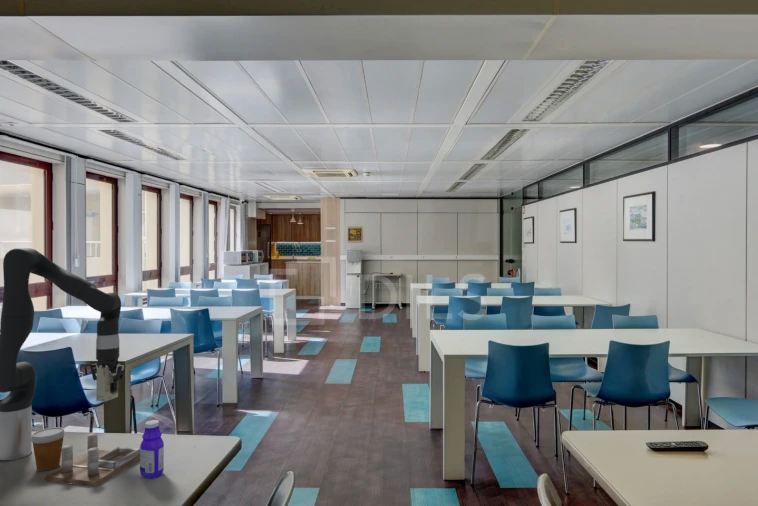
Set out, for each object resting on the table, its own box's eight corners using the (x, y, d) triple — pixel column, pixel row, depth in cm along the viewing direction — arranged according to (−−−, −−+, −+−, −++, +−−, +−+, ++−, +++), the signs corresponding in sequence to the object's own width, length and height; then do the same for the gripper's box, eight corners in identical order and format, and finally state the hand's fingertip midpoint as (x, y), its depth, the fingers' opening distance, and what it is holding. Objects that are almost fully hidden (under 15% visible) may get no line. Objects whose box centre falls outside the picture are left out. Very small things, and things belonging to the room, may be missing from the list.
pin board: (43, 480, 144) (43, 450, 144) (94, 453, 163) (94, 427, 163) (95, 486, 139) (95, 456, 140) (142, 458, 159) (142, 431, 159)
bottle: (167, 472, 148) (167, 420, 148) (153, 480, 143) (153, 426, 143) (150, 469, 151) (150, 417, 151) (136, 477, 145) (136, 423, 145)
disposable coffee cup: (71, 463, 155) (71, 429, 155) (41, 476, 147) (41, 439, 147) (55, 458, 159) (54, 424, 159) (24, 470, 151) (24, 434, 151)
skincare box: (105, 402, 164) (105, 368, 164) (95, 401, 165) (95, 368, 165) (119, 396, 171) (119, 364, 171) (109, 396, 171) (109, 364, 172)
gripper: (83, 347, 166) (83, 393, 166) (116, 349, 163) (116, 396, 163) (99, 343, 173) (99, 387, 173) (131, 345, 170) (131, 390, 170)
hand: (107, 391), depth 168 cm, fingers closed on skincare box, 4 cm apart
